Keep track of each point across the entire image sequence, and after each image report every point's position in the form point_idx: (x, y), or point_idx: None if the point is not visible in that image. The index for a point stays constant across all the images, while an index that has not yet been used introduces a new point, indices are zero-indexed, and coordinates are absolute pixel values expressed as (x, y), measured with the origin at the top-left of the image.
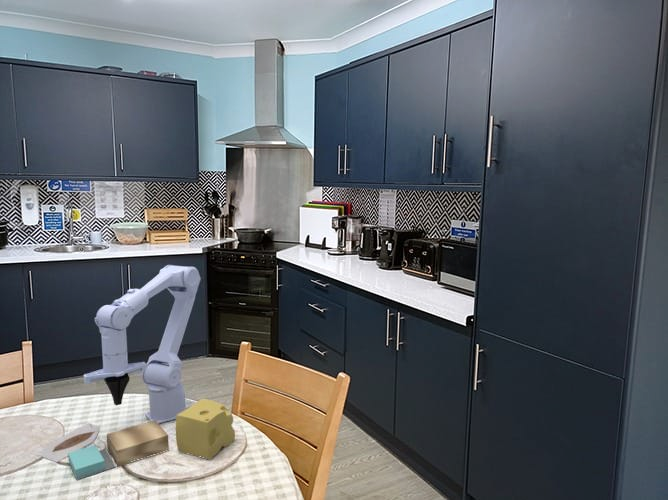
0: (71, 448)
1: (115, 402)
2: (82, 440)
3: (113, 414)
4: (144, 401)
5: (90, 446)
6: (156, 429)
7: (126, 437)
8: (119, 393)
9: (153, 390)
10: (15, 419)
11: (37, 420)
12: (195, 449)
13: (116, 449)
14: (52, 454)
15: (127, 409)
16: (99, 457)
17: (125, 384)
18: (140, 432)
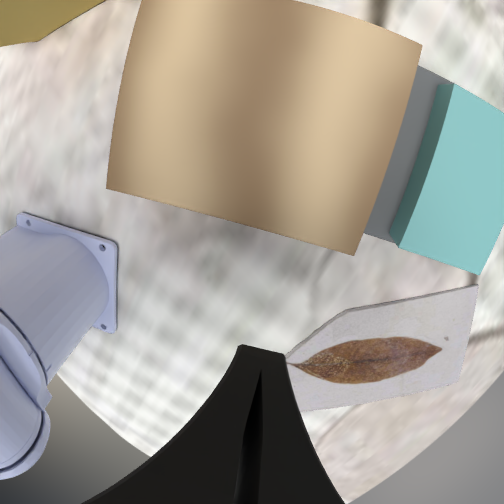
0: (407, 327)
1: (287, 375)
2: (354, 347)
3: (192, 404)
4: (98, 389)
5: (418, 250)
6: (149, 80)
7: (312, 126)
8: (243, 429)
9: (26, 348)
10: (352, 491)
11: (334, 476)
12: None
13: (416, 58)
14: (452, 335)
15: (148, 395)
16: (453, 127)
17: (144, 493)
18: (225, 115)
